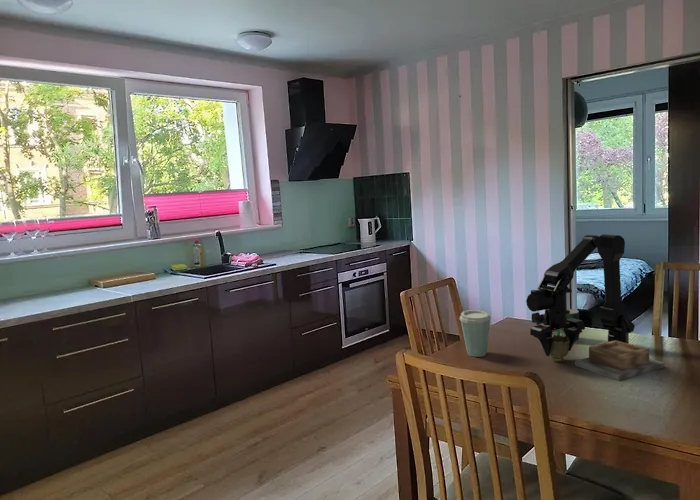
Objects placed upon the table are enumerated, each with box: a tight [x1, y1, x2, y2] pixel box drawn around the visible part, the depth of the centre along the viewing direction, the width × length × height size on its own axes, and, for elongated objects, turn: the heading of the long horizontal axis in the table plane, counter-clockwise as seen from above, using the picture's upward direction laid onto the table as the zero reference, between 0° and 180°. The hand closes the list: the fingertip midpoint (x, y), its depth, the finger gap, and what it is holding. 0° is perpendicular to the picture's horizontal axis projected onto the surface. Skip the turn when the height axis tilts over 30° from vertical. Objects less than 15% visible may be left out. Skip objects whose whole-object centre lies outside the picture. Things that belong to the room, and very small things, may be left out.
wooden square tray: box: [574, 340, 665, 382], centre depth 167 cm, size 20×16×6 cm
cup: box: [549, 334, 570, 363], centre depth 176 cm, size 8×7×8 cm
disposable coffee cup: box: [458, 309, 492, 358], centre depth 187 cm, size 11×11×15 cm
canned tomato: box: [555, 308, 580, 343], centre depth 197 cm, size 8×8×11 cm
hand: (558, 353), depth 176 cm, fingers open, 9 cm apart
